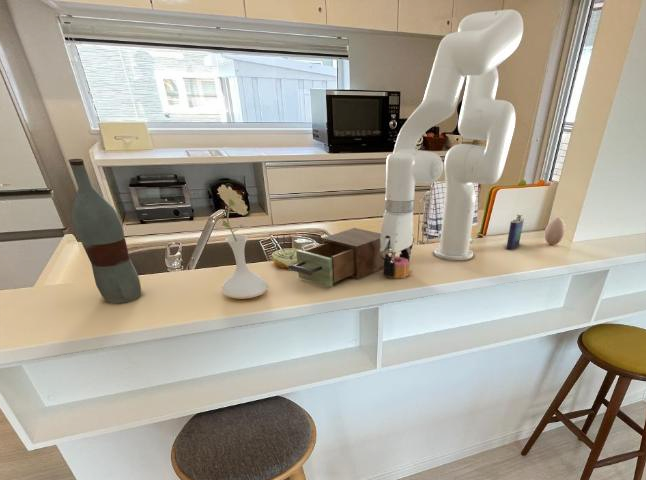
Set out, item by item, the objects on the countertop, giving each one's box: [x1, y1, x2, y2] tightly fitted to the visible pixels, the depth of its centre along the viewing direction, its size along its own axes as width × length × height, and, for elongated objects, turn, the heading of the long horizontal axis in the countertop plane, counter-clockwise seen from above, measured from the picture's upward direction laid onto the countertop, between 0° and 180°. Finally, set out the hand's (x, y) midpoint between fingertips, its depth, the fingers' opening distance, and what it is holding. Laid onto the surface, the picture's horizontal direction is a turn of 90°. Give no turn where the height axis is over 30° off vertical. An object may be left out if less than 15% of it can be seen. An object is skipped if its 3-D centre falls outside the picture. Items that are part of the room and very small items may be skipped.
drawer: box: [287, 242, 355, 288], centre depth 112 cm, size 19×11×7 cm, turn 145°
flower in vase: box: [217, 184, 269, 300], centre depth 99 cm, size 13×11×25 cm
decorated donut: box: [271, 247, 301, 269], centre depth 124 cm, size 10×11×4 cm
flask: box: [505, 214, 525, 251], centre depth 143 cm, size 9×3×11 cm, turn 147°
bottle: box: [67, 158, 142, 304], centre depth 94 cm, size 9×9×30 cm
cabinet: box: [321, 227, 384, 280], centre depth 122 cm, size 15×13×9 cm
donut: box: [385, 256, 410, 279], centre depth 120 cm, size 7×7×4 cm
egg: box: [544, 217, 566, 246], centre depth 147 cm, size 7×7×9 cm
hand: (396, 271), depth 120 cm, fingers closed on donut, 7 cm apart
